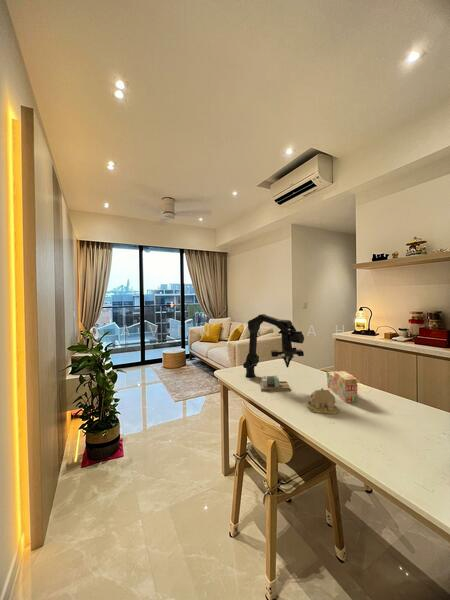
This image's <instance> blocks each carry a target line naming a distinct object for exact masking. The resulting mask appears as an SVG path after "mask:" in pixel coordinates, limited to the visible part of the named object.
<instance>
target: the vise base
mask: <svg viewBox="0 0 450 600" xmlns="http://www.w3.org/2000/svg"><path fill="white" fill-rule="evenodd" d="M259 386H260V391H261V392H291V391H292V390H291V387H290V385H289V382H288V381H287V380H279V387H268V386H267V376H266V375H261V381H260V382H259Z"/></svg>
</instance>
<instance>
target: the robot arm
mask: <svg viewBox="0 0 450 600" xmlns="http://www.w3.org/2000/svg"><path fill="white" fill-rule="evenodd" d="M263 323H268V324H269V325H273V326H275V327H277V328H278V329H279V331H278V332H277V333H278V334H280V337H281V351H278V350H277V349H272V350H270V355H271V357H273V358H278V356H280V358H281V359H283V361H284V364H285V366H286V368H289V366H290V363H291V360H292V359H293V358H295V356H294V355H297V356H298V357H305V353H304V351H303V350H302V349H299V348H298V349H297V347H293V345H292V343H294V344H303V343H304V341H305V336H304V334H303V332H302V331H301V330H300V331H297V329H296V327H295V326H294V325H293V323H292V321H291V320H289V319H281V318H280V319H279V318H275V317H273V316H269V315H267V314H265V313H262V314H258V315H257V316H255V317H254V318H252V319H249V320H248V321H247V329H248V331H249V346H248V353H247V356H246V359H245V361H244V363H243V364H242V367H243V368H245V372H246V373H245V377H246V378H256V372H255V367H257V366H258V363H259V362H260V355H258V354H257V345H258V332H259V330H260V328H261V325H262V324H263Z"/></svg>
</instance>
